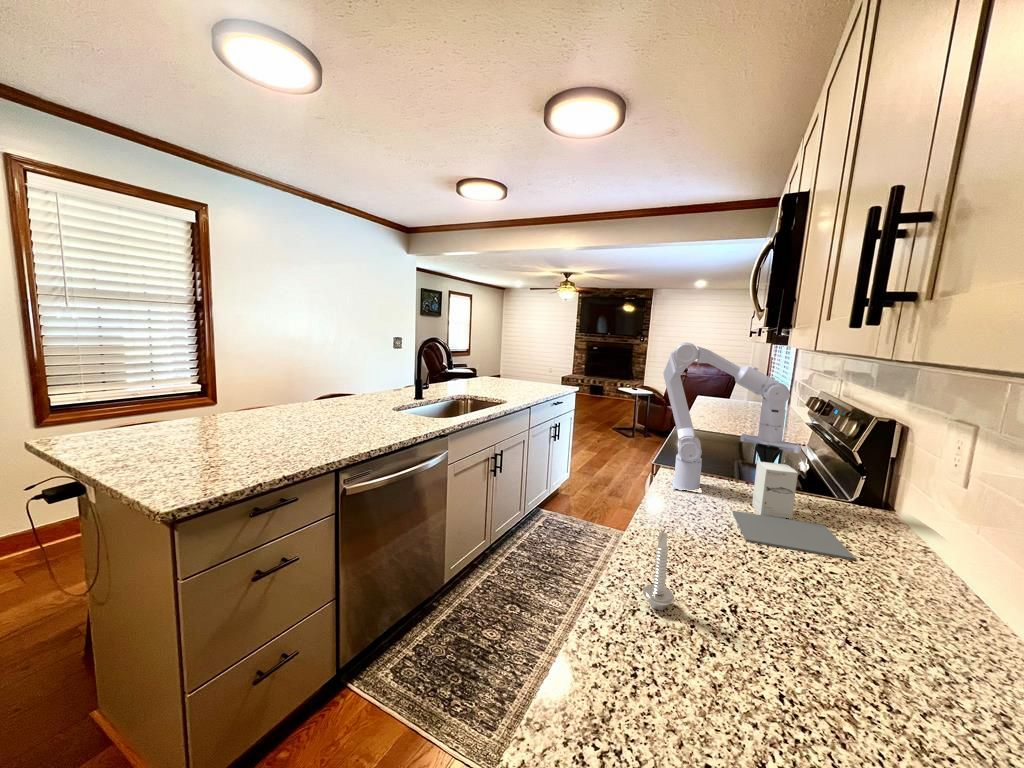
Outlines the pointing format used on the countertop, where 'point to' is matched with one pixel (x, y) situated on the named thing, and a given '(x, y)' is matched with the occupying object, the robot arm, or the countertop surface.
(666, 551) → the screw
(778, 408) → the robot arm
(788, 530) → the mat
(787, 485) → the supplement box
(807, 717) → the countertop surface
